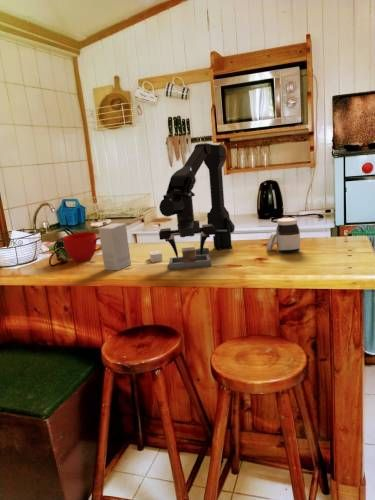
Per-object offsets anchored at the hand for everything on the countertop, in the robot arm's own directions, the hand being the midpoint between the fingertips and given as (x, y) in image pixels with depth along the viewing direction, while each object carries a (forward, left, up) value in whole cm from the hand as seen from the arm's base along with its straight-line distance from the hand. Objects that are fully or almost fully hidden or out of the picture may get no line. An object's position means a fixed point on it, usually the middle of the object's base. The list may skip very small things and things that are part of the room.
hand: (189, 256), depth 139 cm
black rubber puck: (-5, -9, -3) cm, 11 cm away
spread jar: (-34, -6, -3) cm, 35 cm away
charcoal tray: (0, 0, -3) cm, 3 cm away
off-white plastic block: (+13, -12, -3) cm, 18 cm away
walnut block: (0, 0, -2) cm, 2 cm away
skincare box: (+26, -6, -3) cm, 27 cm away
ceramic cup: (+41, -23, -3) cm, 47 cm away
